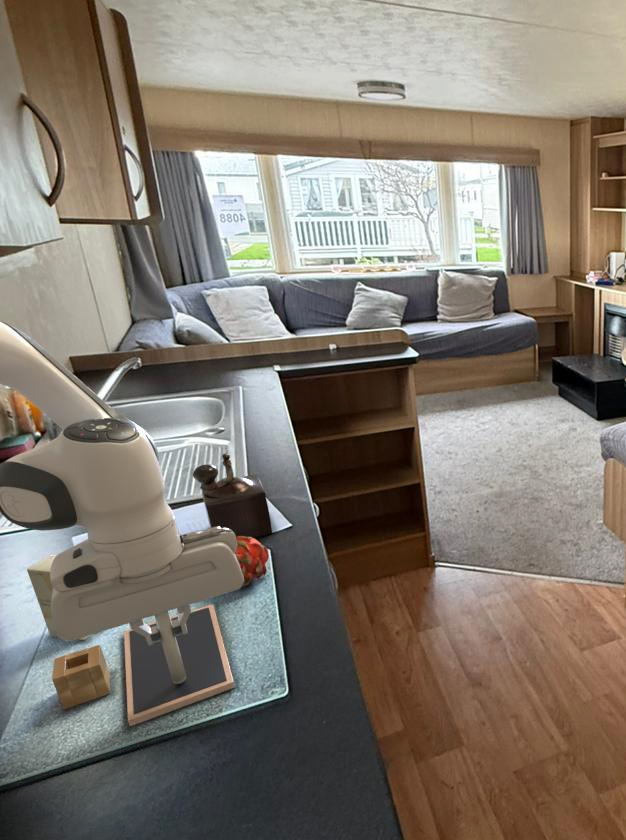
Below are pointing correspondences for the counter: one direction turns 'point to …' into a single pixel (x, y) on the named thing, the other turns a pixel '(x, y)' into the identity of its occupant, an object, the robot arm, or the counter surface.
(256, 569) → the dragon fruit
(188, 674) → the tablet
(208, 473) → the brown manual coffee grinder
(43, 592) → the cosmetic box
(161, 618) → the stylus
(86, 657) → the pen stand
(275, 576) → the counter surface
